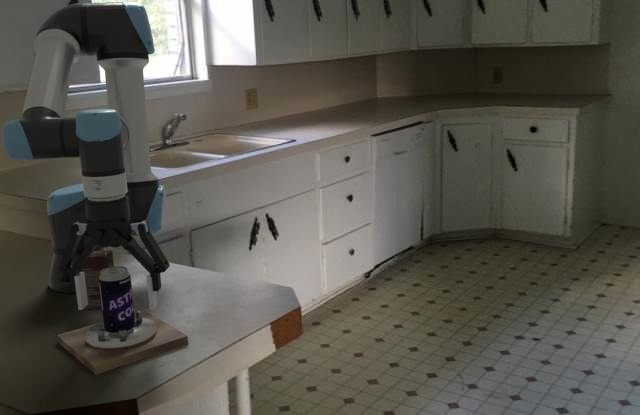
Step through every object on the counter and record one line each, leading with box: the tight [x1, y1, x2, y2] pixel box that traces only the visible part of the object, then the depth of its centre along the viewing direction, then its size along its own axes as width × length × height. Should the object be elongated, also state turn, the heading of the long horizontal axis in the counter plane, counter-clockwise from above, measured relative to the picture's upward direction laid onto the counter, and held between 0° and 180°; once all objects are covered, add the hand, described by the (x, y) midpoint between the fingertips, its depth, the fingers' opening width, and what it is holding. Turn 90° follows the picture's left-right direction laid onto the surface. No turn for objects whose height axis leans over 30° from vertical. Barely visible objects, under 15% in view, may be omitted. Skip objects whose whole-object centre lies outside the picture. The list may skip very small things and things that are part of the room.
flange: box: [85, 310, 157, 351], centre depth 128 cm, size 13×13×3 cm
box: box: [81, 249, 115, 310], centre depth 146 cm, size 6×4×12 cm
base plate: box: [56, 309, 189, 376], centre depth 129 cm, size 18×18×2 cm
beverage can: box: [99, 265, 135, 335], centre depth 127 cm, size 6×6×12 cm
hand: (118, 307), depth 127 cm, fingers open, 13 cm apart
